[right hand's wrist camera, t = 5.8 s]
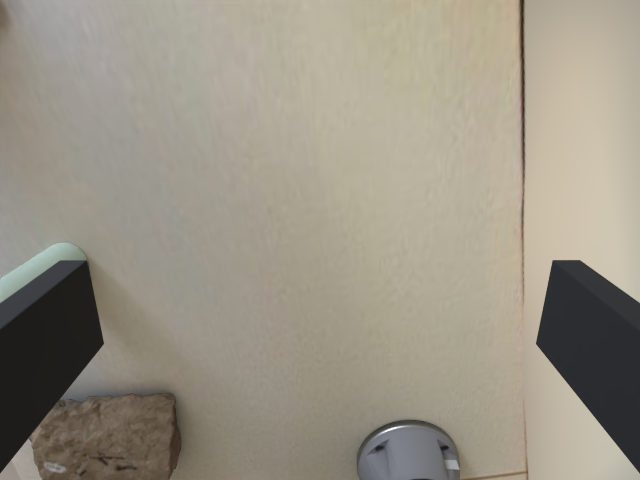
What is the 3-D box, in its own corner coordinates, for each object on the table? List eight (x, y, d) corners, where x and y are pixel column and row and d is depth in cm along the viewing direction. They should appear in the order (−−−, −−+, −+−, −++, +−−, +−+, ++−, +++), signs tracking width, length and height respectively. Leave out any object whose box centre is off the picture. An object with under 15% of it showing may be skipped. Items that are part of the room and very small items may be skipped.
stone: (34, 481, 65) (14, 511, 59) (27, 385, 63) (5, 406, 57) (183, 467, 69) (177, 494, 63) (181, 377, 67) (175, 396, 61)
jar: (71, 288, 58) (-31, 376, 41) (37, 260, 57) (-84, 339, 40) (97, 263, 57) (3, 343, 40) (62, 233, 55) (-51, 303, 38)
